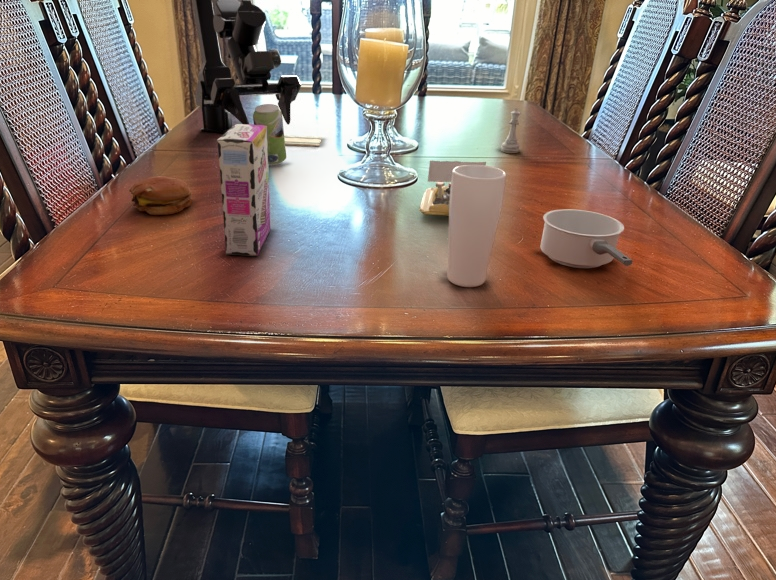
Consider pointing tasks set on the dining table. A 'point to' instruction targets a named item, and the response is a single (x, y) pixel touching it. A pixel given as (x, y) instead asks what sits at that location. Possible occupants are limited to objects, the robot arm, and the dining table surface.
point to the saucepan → (581, 238)
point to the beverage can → (272, 131)
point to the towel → (302, 141)
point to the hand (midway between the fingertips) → (268, 124)
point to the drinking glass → (473, 221)
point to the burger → (161, 195)
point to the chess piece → (512, 135)
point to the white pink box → (245, 188)
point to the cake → (440, 187)
